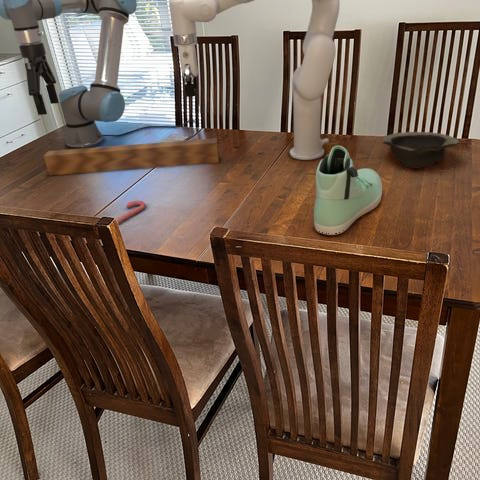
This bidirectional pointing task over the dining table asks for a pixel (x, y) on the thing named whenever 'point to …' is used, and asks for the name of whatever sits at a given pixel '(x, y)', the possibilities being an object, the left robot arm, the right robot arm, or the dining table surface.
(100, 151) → the post
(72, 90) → the left robot arm
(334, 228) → the sneaker
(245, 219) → the dining table surface
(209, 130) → the dining table surface
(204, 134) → the dining table surface
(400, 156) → the stone bowl
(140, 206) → the candy cane
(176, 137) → the baking ingredient package
